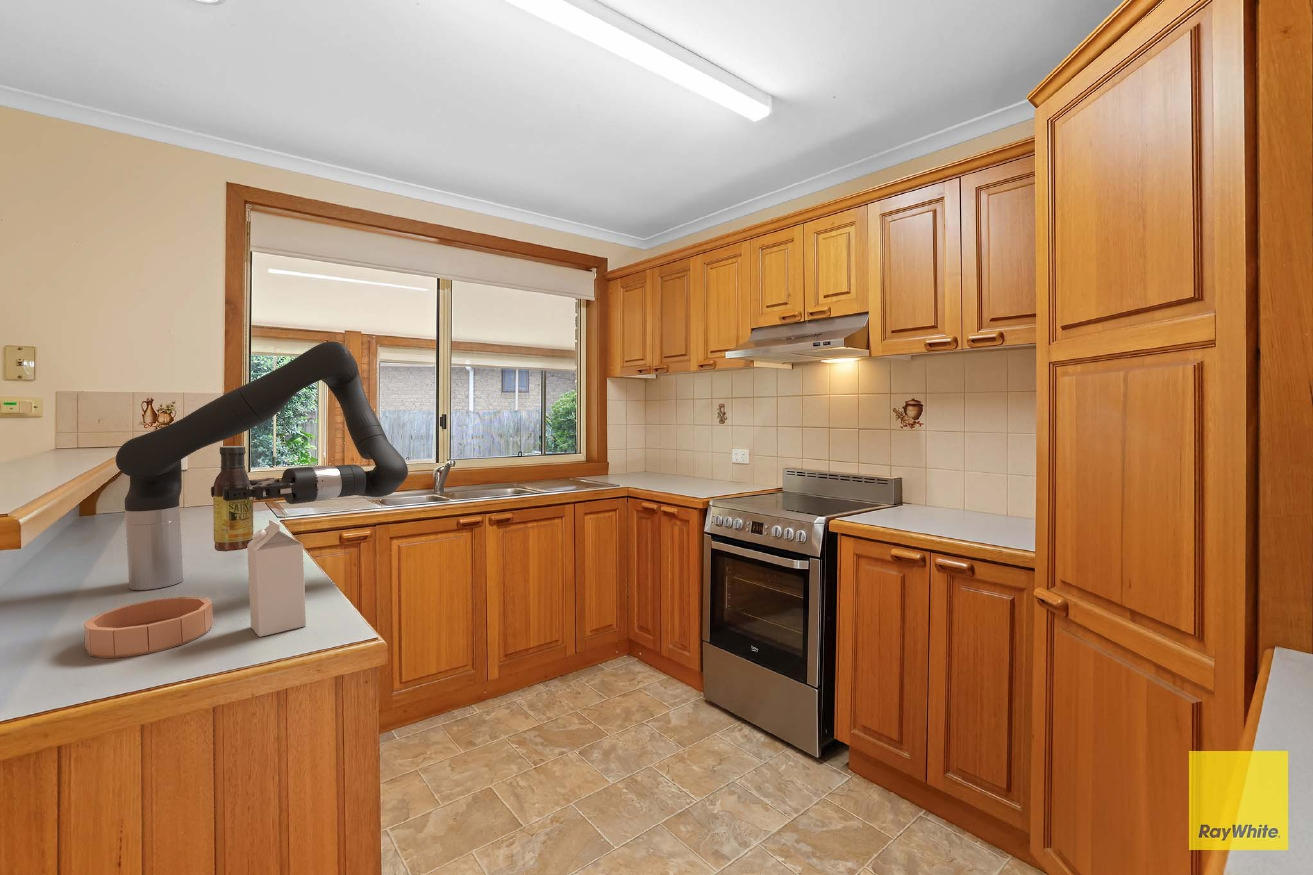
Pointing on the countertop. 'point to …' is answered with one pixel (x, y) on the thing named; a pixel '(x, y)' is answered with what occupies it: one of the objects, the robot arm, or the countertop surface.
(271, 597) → the milk carton
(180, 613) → the terracotta bowl
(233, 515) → the sauce bottle
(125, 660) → the countertop surface
